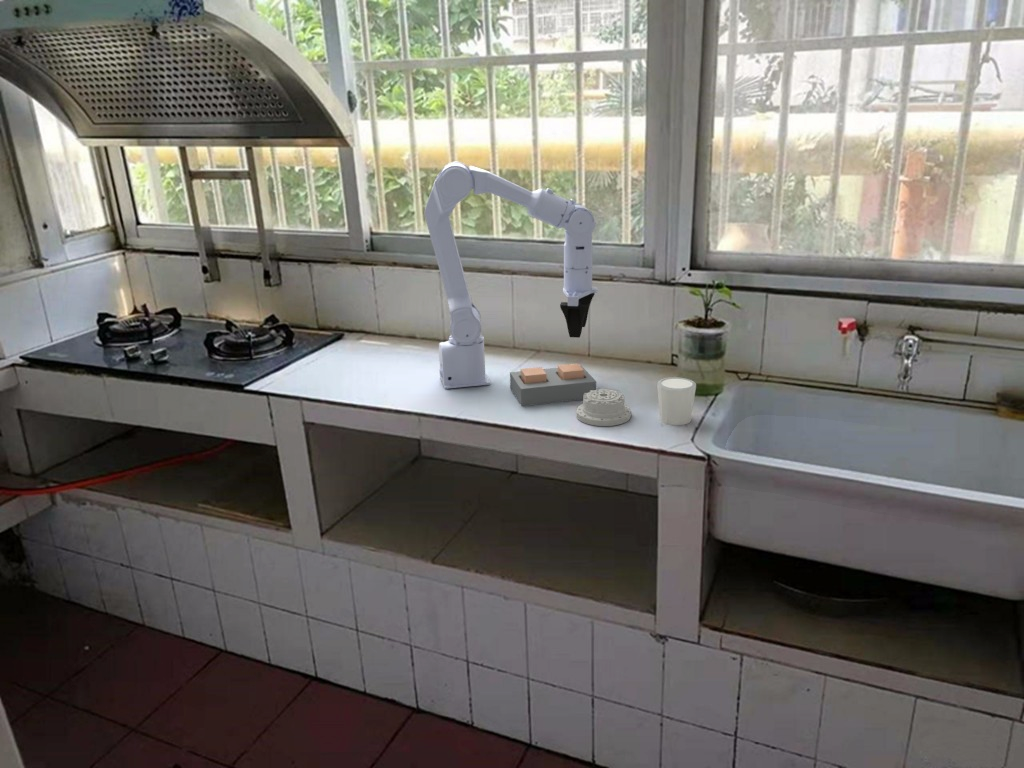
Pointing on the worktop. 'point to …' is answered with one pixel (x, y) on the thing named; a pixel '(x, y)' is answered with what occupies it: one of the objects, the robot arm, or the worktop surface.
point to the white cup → (676, 400)
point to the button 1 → (533, 375)
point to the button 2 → (570, 371)
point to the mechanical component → (603, 408)
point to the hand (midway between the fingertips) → (577, 331)
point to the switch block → (551, 388)
